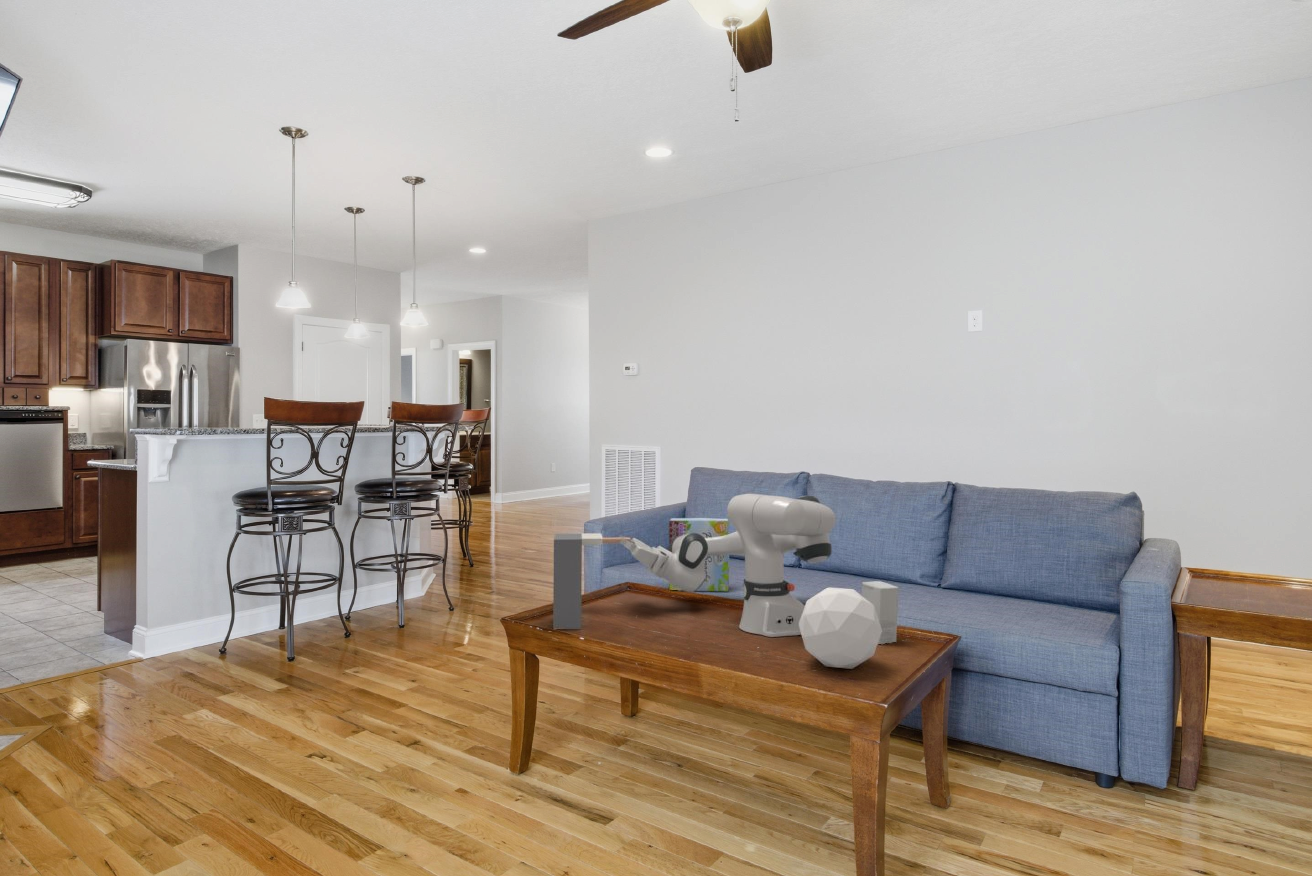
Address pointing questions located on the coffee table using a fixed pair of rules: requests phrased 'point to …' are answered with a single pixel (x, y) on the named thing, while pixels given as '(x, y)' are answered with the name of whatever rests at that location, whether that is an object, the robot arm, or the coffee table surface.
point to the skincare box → (883, 607)
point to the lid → (600, 539)
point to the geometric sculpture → (840, 628)
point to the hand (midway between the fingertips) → (620, 538)
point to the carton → (567, 581)
